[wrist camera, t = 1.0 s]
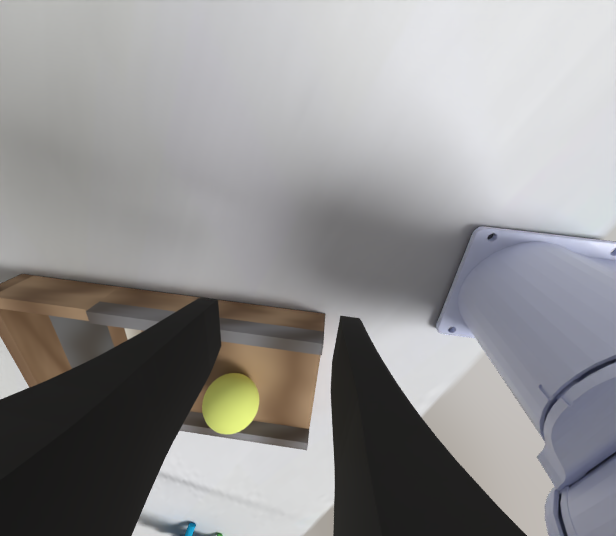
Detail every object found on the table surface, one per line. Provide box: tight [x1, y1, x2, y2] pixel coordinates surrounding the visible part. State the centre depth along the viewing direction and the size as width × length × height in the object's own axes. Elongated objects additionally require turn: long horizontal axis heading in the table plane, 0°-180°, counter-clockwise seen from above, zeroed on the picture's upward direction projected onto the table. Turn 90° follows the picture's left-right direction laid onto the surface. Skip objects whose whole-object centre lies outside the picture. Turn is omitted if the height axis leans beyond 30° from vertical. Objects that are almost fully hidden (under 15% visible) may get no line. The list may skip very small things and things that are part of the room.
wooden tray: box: [0, 274, 325, 450], centre depth 22 cm, size 24×12×3 cm, turn 85°
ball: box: [202, 373, 259, 434], centre depth 20 cm, size 4×4×4 cm
